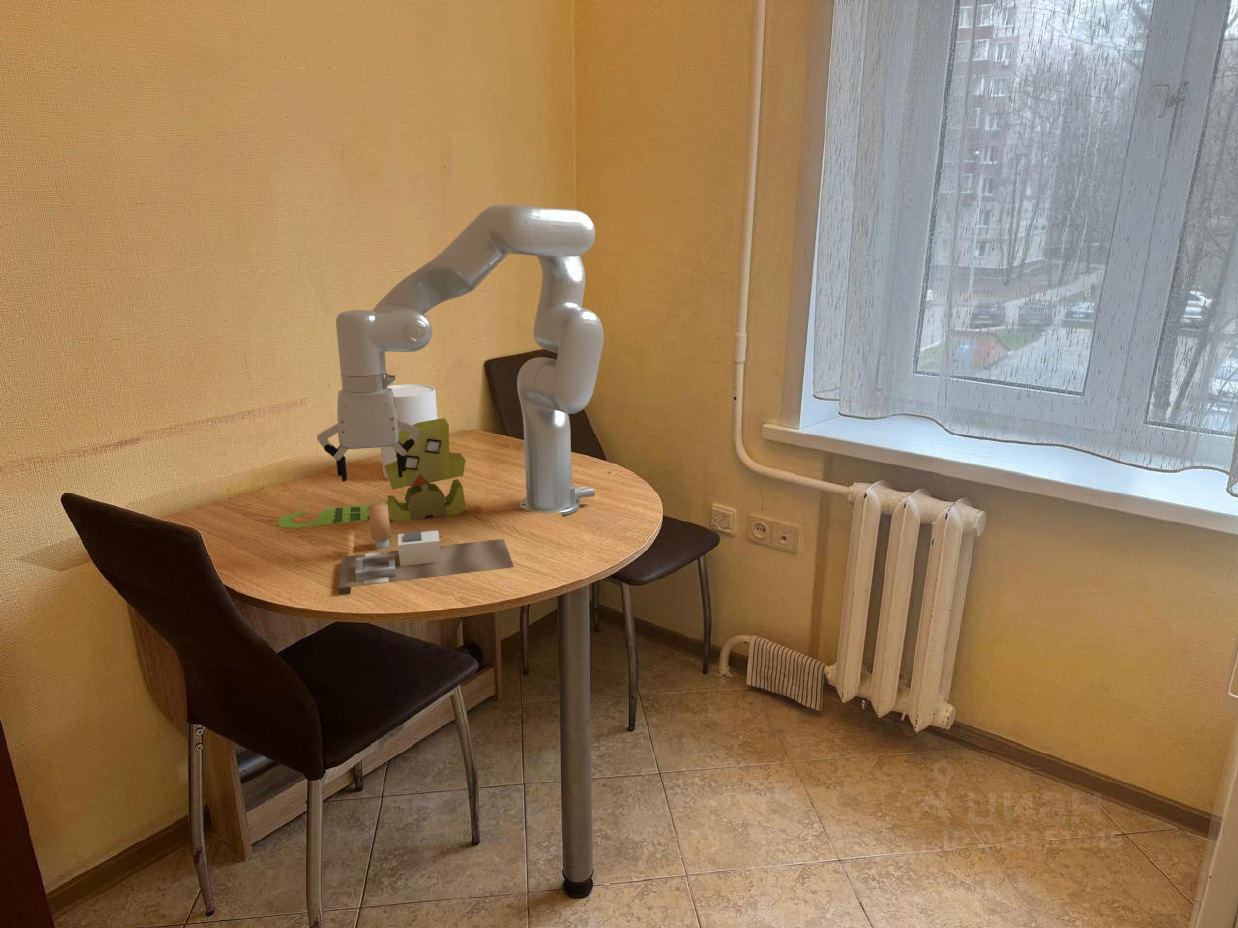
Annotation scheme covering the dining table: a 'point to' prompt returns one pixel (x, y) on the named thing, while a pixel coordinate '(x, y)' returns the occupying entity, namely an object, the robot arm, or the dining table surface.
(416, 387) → the canister
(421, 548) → the block
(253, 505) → the dining table surface
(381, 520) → the tan rounded cylinder
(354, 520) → the door hanger
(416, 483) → the toy
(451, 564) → the panel
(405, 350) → the robot arm
